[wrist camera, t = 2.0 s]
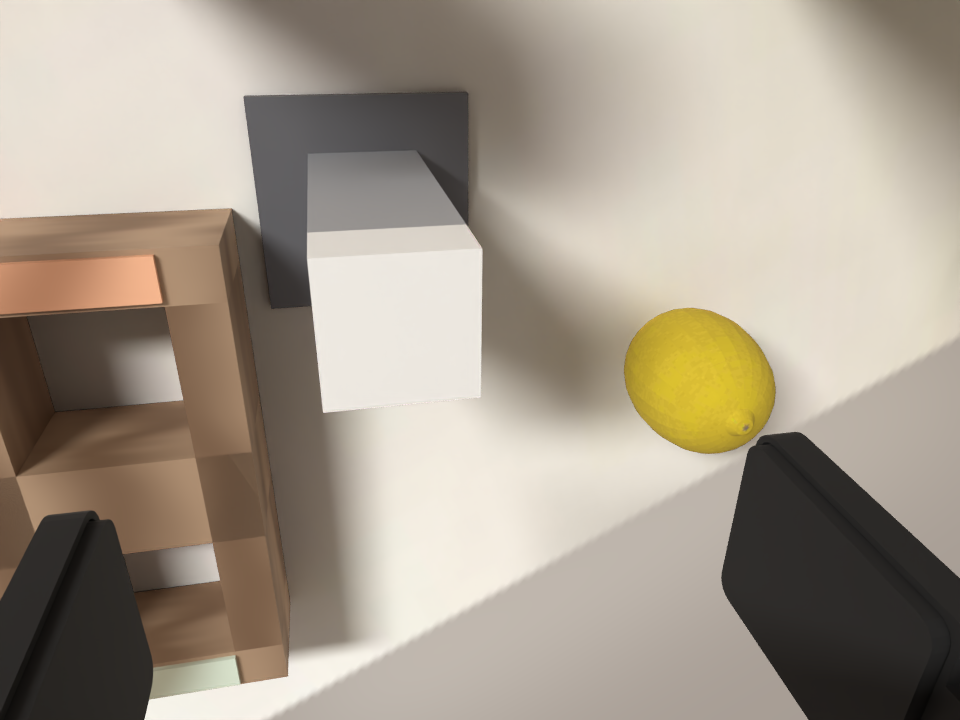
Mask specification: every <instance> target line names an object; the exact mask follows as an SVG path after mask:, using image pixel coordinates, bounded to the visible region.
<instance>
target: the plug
mask: <svg viewBox="0 0 960 720" xmlns="http://www.w3.org/2000/svg"><path fill="white" fill-rule="evenodd" d="M307 264H308V273H309V283H310V293H311V302H312V312H313V321H314V331H315V340H316V350H317V360H318V369H319V379H320V388H321V398H322V407H323V413H327V412H337V411H347V410H358V409H368V408H378V407H388V406H399V405H409V404H419V403H429V402H439V401H450V400H460V399H470V398H480V397H481V347H482V247H481V245H480V244H479V243H478V241H477V240H476V238H475V237H474V235H473V234H472V232H471V231H470V229H469V228H468V226H467V225H466V223H465V222H464V220H463V219H462V217H461V216H460V214H459V213H458V211H457V210H456V208H455V207H454V206H453V204H452V203H451V201H450V200H449V198H448V197H447V195H446V194H445V192H444V191H443V189H442V188H441V186H440V185H439V183H438V182H437V180H436V179H435V177H434V176H433V174H432V173H431V171H430V170H429V168H428V167H427V166H426V164H425V163H424V161H423V160H422V158H421V157H420V155H419V154H418V152H417V151H416V150H408V151H377V152H346V153H315V154H308V188H307Z"/></svg>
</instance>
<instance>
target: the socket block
mask: <svg viewBox="0 0 960 720" xmlns="http://www.w3.org/2000/svg"><path fill="white" fill-rule="evenodd" d="M153 307H165V311H166V316H167V321H168V326H169V331H170V336H171V341H172V346H173V351H174V356H175V360H176V365H177V370H178V375H179V380H180V385H181V390H182V395H183V400H184V401H173V402H162V403H151V404H140V405H129V406H118V407H107V408H96V409H85V410H74V411H63V412H55V411H54V407H53V404H52V401H51V397H50V394H49V391H48V387H47V384H46V381H45V377H44V374H43V370H42V367H41V364H40V360H39V357H38V354H37V350H36V347H35V344H34V340H33V337H32V334H31V330H30V327H29V323H28V320H27V317H26V316H36V315H51V314H65V313H80V312H95V311H109V310H124V309H139V308H153ZM88 510H92V511H95V512H96V513H97V515H98V516H99V519H100V520H106V519H110V520H112V522H113V523H114V526H115V528H116V532H117V535H118V539H119V542H120V546H121V550H122V553H123V554H129V553H137V552H145V551H152V550H160V549H168V548H176V547H184V546H192V545H200V544H208V543H213V547H214V552H215V557H216V562H217V567H218V572H219V577H220V581H216V582H209V583H202V584H194V585H187V586H180V587H173V588H165V589H158V590H151V591H143V592H136V593H134V596H135V599H136V603H137V606H138V610H139V613H140V617H141V620H142V624H143V627H144V631H145V634H146V638H147V642H148V645H149V649H150V652H151V656H152V661H153V683H152V688H151V693H150V697H149V699H155V698H161V697H167V696H173V695H179V694H186V693H192V692H198V691H204V690H210V689H216V688H222V687H229V686H235V685H240V684H244V683H250V682H256V681H262V680H269V679H275V678H281V677H287V676H288V656H289V624H290V598H289V591H288V585H287V578H286V571H285V564H284V558H283V551H282V544H281V537H280V531H279V524H278V517H277V511H276V504H275V497H274V490H273V484H272V477H271V470H270V463H269V457H268V450H267V443H266V437H265V430H264V423H263V416H262V410H261V403H260V396H259V390H258V383H257V376H256V369H255V363H254V356H253V349H252V342H251V336H250V329H249V322H248V316H247V309H246V302H245V295H244V289H243V282H242V275H241V268H240V262H239V255H238V248H237V242H236V235H235V228H234V221H233V215H232V208H231V209H209V210H187V211H165V212H143V213H120V214H98V215H76V216H54V217H32V218H10V219H0V600H1V598H2V596H3V594H4V592H5V590H6V588H7V586H8V584H9V582H10V580H11V579H12V577H13V575H14V573H15V571H16V569H17V567H18V565H19V563H20V561H21V559H22V557H23V555H24V553H25V551H26V549H27V547H28V545H29V543H30V541H31V539H32V537H33V536H34V534H35V532H36V530H37V528H38V526H39V524H40V522H41V521H42V519H43V518H44V517H45V516H47V515H52V514H61V513H70V512H79V511H88Z"/></svg>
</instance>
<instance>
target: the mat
mask: <svg viewBox="0 0 960 720" xmlns="http://www.w3.org/2000/svg"><path fill="white" fill-rule="evenodd" d="M244 104H245V112H246V120H247V127H248V135H249V142H250V150H251V157H252V165H253V173H254V180H255V188H256V195H257V203H258V211H259V218H260V226H261V233H262V241H263V248H264V256H265V264H266V271H267V279H268V286H269V294H270V301H271V309H275V308H289V307H303V306H312V302H311V293H310V283H309V273H308V264H307V188H308V154H315V153H346V152H377V151H408V150H416V151H417V152H418V154H419V155H420V157H421V158H422V160H423V161H424V163H425V164H426V166H427V167H428V168H429V170H430V171H431V173H432V174H433V176H434V177H435V179H436V180H437V182H438V183H439V185H440V186H441V188H442V189H443V191H444V192H445V194H446V195H447V197H448V198H449V200H450V201H451V203H452V204H453V206H454V207H455V208H456V210H457V211H458V213H459V214H460V216H461V217H462V219H463V220H464V222H465V223H466V225H467V226H468V93H467V92H434V93H376V94H319V95H261V96H244Z"/></svg>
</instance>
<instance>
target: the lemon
mask: <svg viewBox="0 0 960 720" xmlns="http://www.w3.org/2000/svg"><path fill="white" fill-rule="evenodd" d="M624 375H625V383H626V388H627V391H628V394H629V396H630V398H631V400H632V403H633V405H634V407H635V409H636V410H637V412H638V413H639V415H640V416H641V417H642V418H643V419H644V420H645V422H646V423H647V424H648V425H649V426H650V427H651V428H652V429H653V430H654V431H655V432H656V433H657V434H659V435H660V436H662V437H663V438H665V439H666V440H668V441H670V442H672V443H673V444H675V445H677V446H679V447H681V448H683V449H686V450H689V451H693V452H698V453H705V454H712V453H722V452H726V451H730V450H734V449H736V448H738V447H740V446H742V445H744V444H746V443H747V442H748V441H750V440H751V439H753V438H754V437H755V436H756V435H757V434H758V433H759V432H760V431H761V430H762V429H763V427H764V426H765V424H766V422H767V421H768V419H769V417H770V414H771V412H772V409H773V406H774V401H775V393H776V391H775V382H774V376H773V372H772V369H771V367H770V365H769V363H768V361H767V359H766V357H765V355H764V353H763V352H762V350H761V348H760V347H759V345H758V344H757V343H756V342H755V341H754V339H753V338H752V337H751V336H750V335H749V334H748V333H746V332H745V331H744V330H743V329H742V328H741V327H740V326H739V325H738V324H736V323H735V322H733V321H732V320H730V319H728V318H726V317H723V316H721V315H719V314H717V313H714V312H712V311H708V310H703V309H696V308H683V309H675V310H671V311H668V312H665V313H663V314H660V315H658V316H657V317H655V318H653V319H652V320H650V321H648V322H647V323H646V324H645V325H644V326H643V327H642V328H641V329H640V330H639V331H638V332H637V334H636V335H635V337H634V338H633V340H632V341H631V344H630V346H629V349H628V351H627V354H626V359H625V366H624Z"/></svg>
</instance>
